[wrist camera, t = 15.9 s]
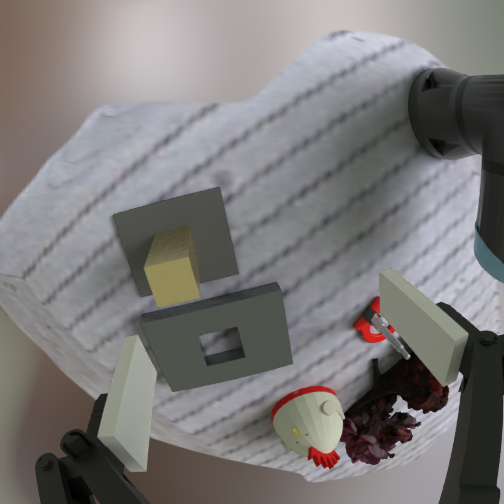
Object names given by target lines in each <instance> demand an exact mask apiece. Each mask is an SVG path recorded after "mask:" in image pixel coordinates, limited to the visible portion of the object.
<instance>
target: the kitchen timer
mask: <svg viewBox="0 0 504 504" xmlns="http://www.w3.org/2000/svg"><path fill="white" fill-rule="evenodd" d="M271 419H272V422H273V426H274V429H275V431H276V433H277V434H278V435H279V437H280V438H281V439H282V442H281V443H282V445H283V447H284V448H285V449H286V450H287V451H290V450H291V449H292V450H293V451H294V452H296V453H298V454H300V455H302V456H306V457H308V461H309V460H310V459H312V458H313V460H314V463H315V465H316V467H318V466H319V465H320V464H322V466H323V467H324V469H325V468H326V467H329V469H331V468H333V467H334V465H335V464H336V463H338V462H337V461H338V460H339V459H340V457H339V456H338V454H337V453H336V452H335V451H334V448H335V447H336V446H337V444H338V442H339V440H340V437H341V434H342V430H343V419H345V416H344V414H343V411H342V408H341V404H340V401H339V399H338V398H337V396H336V394H335V392H334V391H333V390H331V389H329V388H327V387H323V386H311V387H306V388H302V389H299V390H297V391H294V392H292V393H290V394H289V395H287V396H285V397H284V398H282V399H281V400H280V401H279V402H278V403H277V404H276V405H275V407H274V409H273V410H272V414H271Z"/></svg>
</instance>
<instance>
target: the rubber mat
mask: <svg viewBox="0 0 504 504" xmlns="http://www.w3.org/2000/svg"><path fill="white" fill-rule="evenodd" d="M113 216H114V219H115V222H116V226H117V229H118V232H119V235H120V238H121V241H122V244H123V247H124V250H125V253H126V256H127V259H128V262H129V265H130V268H131V271H132V273H133V276H134V279H135V282H136V284H137V287H138V290H139V292H140V295H141V297H145V296H149V295H153V293H152V290H151V287H150V285H149V282H148V279H147V276H146V273H145V270H144V265H145V262H146V260H147V257H148V254H149V251H150V248H151V246H152V243H153V240H154V237H155V235H156V233H160V232H164V231H167V230H171V229H175V228H179V227H183V226H187V225H190V228H191V232H192V236H193V239H194V243H195V247H196V251H197V254H198V262H199V281H200V283H204V282H208V281H212V280H216V279H220V278H224V277H228V276H232V275H236V274H239V272H238V267H237V263H236V258H235V254H234V250H233V245H232V241H231V236H230V232H229V227H228V223H227V218H226V214H225V209H224V205H223V200H222V196H221V191H220V187H216V188H212V189H208V190H204V191H200V192H196V193H191V194H187V195H183V196H180V197H176V198H172V199H168V200H164V201H160V202H157V203H153V204H149V205H145V206H142V207H138V208H135V209H131V210H128V211H124V212H121V213H117V214H114V215H113Z"/></svg>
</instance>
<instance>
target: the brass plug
mask: <svg viewBox="0 0 504 504" xmlns="http://www.w3.org/2000/svg"><path fill="white" fill-rule="evenodd" d="M144 270H145V273H146V276H147V279H148V282H149V285H150V287H151V290H152V293H153V296H154V298H155V301H156V304H157V306H158V307H163V306H167V305H171V304H176V303H180V302H184V301H188V300H193V299H197V298H200V281H199V262H198V254H197V251H196V247H195V243H194V239H193V236H192V232H191V228H190V225H187V226H183V227H179V228H175V229H171V230H167V231H164V232H160V233H156V235H155V237H154V240H153V243H152V246H151V248H150V251H149V254H148V257H147V260H146V262H145V265H144Z"/></svg>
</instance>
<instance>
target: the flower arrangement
mask: <svg viewBox="0 0 504 504" xmlns="http://www.w3.org/2000/svg"><path fill="white" fill-rule="evenodd" d="M405 343H406V342H405ZM406 344H407V343H406ZM407 345H408V344H407ZM409 355H410V358H409V359H408V360H406V359H405V357H404V358H402V359H401V360H399V361H398V362H397V363H396V364H395V365H394V366H393V367H391V368H390V369H389V370H388V371H386V372H385V373H384V374H382V375H380V372H379V369H378V358H376V359H375V358H374V359H373V363H374V385H373V388H372V390H370V391H369V392H368V393H367V394H366V395H365V396H363V397H362V398H361V399H360V400H359V401H358V402H357V403H356V404H355V405H354V406H353V407H352V408H350V409H349V410H348V411H347V412H346V413H345V414H344V416H345V419H343V430H342V434H341V437H340V441H341V442H345V443H346V446H345V448H346V452H347V455H348V456H349V457H350V458H351V460H352V463H353V464H354V463H356V462H357V461H359V460H360V461H362V462H365V463H366V464H368V463H369V464H372V465H376V464H378V463H379V462H380V459H387V458H388V456H389V457H390V458H393V457H394V456H395V454H394V453H393V454H389V453H388V451H390V450H392V449H393V448H395V446H396V445H395V443H396V442H398V441H400V442H401V443H402V444H403V443H405V442H408V441H411V440H412V437H413V435H412V433H411V430H408V429H407V428H411V429H415V427H416V426H417V427H418V426H420V425H421V422H418V423H417V424H416V419H415V418H414V417H412V416H411V415H409V413H401V412H396V413H395V414H394V415H393V416H392V417H391V416H390V415H389V414H388V413H392V412H393V410H394V409H393V408H392V406H393V405H394V403H395V402H396V401H397V395H399V396H401V397H402V399H403V400H405V401H406V402H408V409H411V408H413V409H414V410H417V411H418V410H421V409H423V414H426V413H429V411H433V412H436V411H438V410H441V409H442V408H443V407H444V406H446V405H447V401H448V394H449V387H448V385H447V386H445V387H443V386H442V385H441V384H440V382H439V381H438V380H437V379H436V378H435V376H434V375H433V374H432V373H431V372H430V370H429V369H428V368H427V367H426V366H425V364H424V363H423V362H422V361H421V360H420V358H419V357H418V356H417V355H416V354H415V353H414V351H413V350H412V352H411V353H410V354H409ZM388 417H391V418H388Z"/></svg>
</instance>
